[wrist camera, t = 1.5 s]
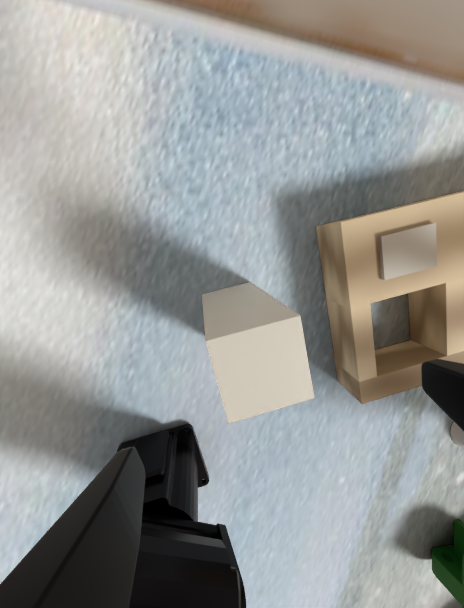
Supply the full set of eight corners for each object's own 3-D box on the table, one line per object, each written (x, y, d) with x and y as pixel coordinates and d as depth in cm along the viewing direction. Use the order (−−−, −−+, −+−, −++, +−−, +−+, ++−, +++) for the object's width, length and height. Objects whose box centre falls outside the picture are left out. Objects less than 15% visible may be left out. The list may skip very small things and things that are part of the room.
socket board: (509, 330, 24) (564, 345, 21) (337, 380, 23) (364, 406, 19) (517, 177, 21) (585, 162, 17) (315, 226, 20) (343, 221, 16)
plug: (260, 327, 21) (314, 398, 11) (214, 340, 21) (228, 423, 11) (250, 281, 20) (300, 315, 10) (201, 294, 20) (205, 341, 10)
